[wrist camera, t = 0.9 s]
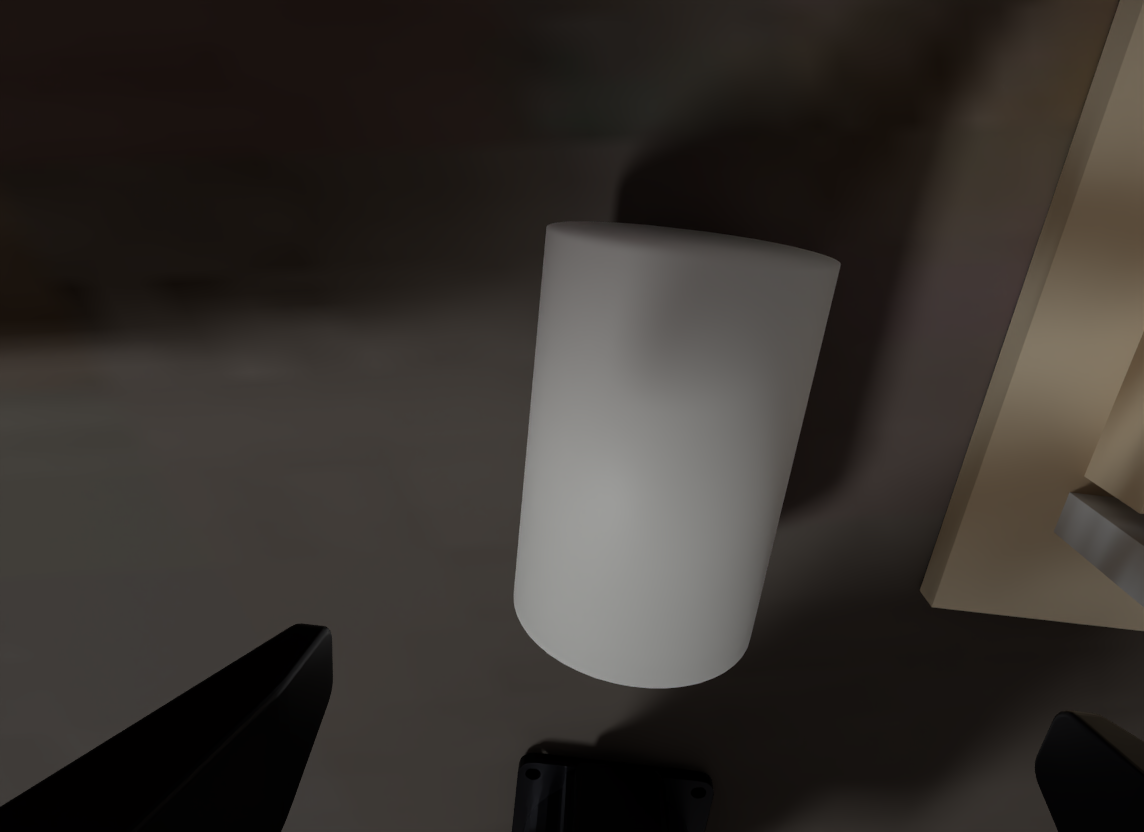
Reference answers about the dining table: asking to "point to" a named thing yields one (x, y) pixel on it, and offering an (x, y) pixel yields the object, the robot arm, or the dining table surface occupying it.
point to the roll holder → (1067, 392)
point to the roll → (661, 443)
